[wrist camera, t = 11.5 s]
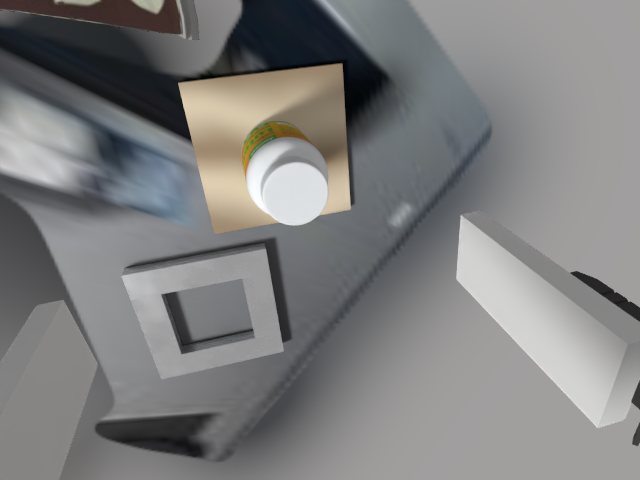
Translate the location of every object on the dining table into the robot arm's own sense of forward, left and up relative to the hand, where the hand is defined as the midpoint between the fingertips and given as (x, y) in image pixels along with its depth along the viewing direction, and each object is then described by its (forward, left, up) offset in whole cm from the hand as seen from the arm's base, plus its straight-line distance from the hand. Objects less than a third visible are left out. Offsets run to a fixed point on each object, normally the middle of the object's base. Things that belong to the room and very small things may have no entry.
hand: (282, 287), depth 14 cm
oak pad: (+1, +2, -21) cm, 21 cm away
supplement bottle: (+1, +2, -21) cm, 21 cm away
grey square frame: (+15, -6, -21) cm, 26 cm away
